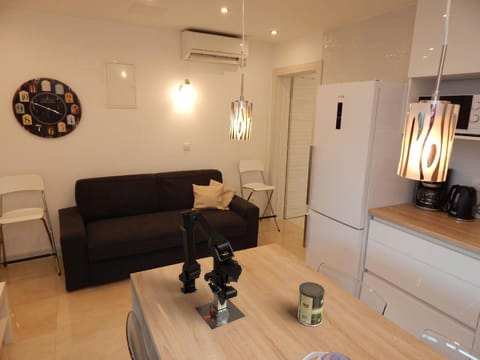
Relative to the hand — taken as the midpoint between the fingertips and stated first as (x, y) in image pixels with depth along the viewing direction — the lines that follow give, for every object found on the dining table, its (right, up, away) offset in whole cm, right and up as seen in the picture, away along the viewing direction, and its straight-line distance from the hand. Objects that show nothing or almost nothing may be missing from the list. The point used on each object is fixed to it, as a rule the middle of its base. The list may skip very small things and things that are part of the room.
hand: (219, 302), depth 132 cm
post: (0, -4, +1) cm, 4 cm away
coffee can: (+38, -7, -1) cm, 38 cm away
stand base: (0, -5, +1) cm, 6 cm away
